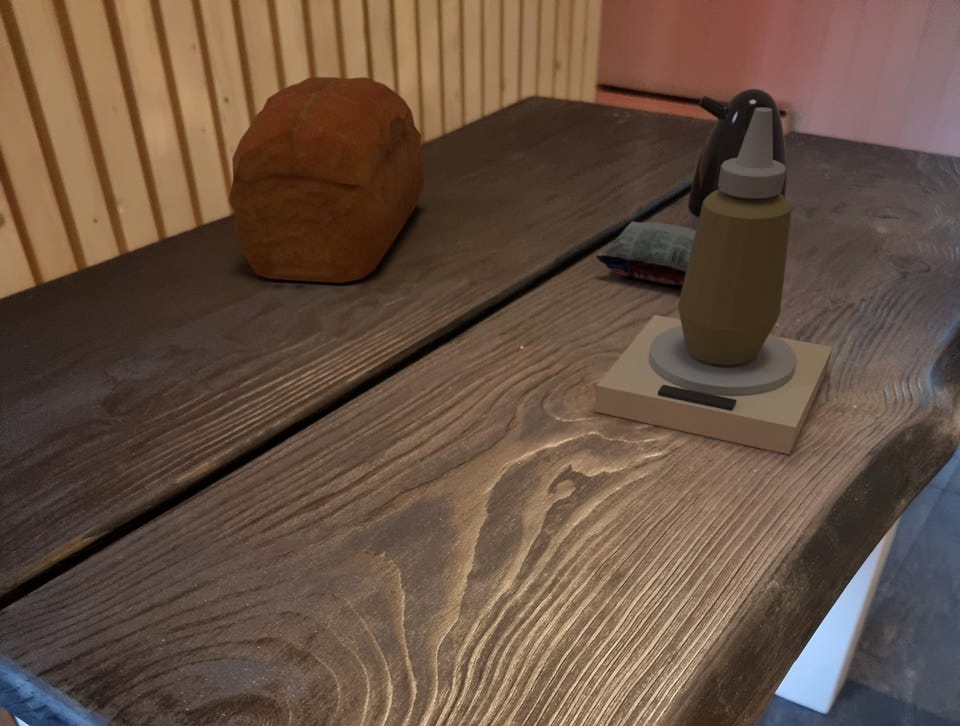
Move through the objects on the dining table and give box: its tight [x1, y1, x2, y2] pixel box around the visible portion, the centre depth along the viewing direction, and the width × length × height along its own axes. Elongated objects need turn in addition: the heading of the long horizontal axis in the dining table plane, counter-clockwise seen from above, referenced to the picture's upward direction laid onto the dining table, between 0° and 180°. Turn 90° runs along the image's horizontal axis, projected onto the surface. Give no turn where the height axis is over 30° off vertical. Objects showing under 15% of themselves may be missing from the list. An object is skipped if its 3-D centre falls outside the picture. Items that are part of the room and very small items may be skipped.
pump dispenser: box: [687, 88, 788, 230], centre depth 99 cm, size 10×10×15 cm
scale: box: [594, 314, 834, 456], centre depth 77 cm, size 16×15×3 cm
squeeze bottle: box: [677, 107, 793, 366], centre depth 71 cm, size 8×8×18 cm
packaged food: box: [595, 221, 696, 286], centre depth 96 cm, size 9×12×5 cm
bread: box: [228, 76, 425, 284], centre depth 101 cm, size 16×27×16 cm, turn 170°
